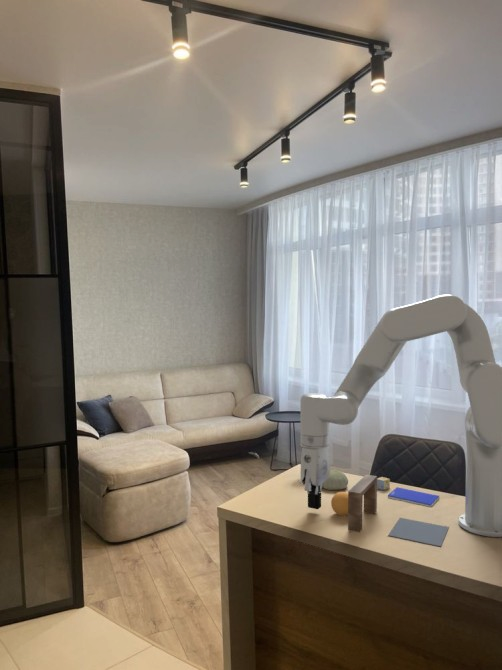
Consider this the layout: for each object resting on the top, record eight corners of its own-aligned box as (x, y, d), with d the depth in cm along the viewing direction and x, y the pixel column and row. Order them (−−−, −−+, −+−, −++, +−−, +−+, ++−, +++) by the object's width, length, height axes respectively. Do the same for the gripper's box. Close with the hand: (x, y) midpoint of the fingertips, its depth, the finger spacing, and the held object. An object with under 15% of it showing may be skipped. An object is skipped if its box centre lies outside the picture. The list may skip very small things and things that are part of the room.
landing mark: (448, 527, 127) (448, 526, 127) (440, 547, 116) (440, 546, 116) (399, 518, 133) (399, 517, 133) (388, 535, 122) (388, 535, 122)
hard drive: (387, 494, 148) (431, 503, 140) (397, 486, 154) (439, 495, 147) (387, 499, 148) (431, 509, 141) (397, 491, 154) (439, 500, 147)
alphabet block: (375, 488, 156) (375, 478, 156) (381, 485, 158) (381, 476, 158) (383, 490, 154) (383, 480, 154) (390, 488, 156) (390, 478, 155)
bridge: (376, 511, 137) (377, 476, 137) (359, 532, 124) (360, 493, 124) (365, 509, 139) (366, 474, 138) (348, 530, 126) (348, 491, 125)
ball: (333, 488, 139) (333, 510, 139) (329, 494, 133) (329, 517, 133) (355, 490, 137) (355, 512, 137) (352, 496, 131) (352, 520, 131)
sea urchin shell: (353, 485, 153) (334, 467, 153) (334, 503, 153) (316, 485, 153) (348, 475, 162) (330, 458, 162) (330, 493, 162) (312, 475, 162)
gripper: (317, 448, 127) (317, 520, 128) (337, 435, 140) (337, 501, 141) (290, 444, 131) (290, 514, 132) (312, 432, 144) (312, 496, 145)
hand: (314, 507), depth 137 cm, fingers closed
